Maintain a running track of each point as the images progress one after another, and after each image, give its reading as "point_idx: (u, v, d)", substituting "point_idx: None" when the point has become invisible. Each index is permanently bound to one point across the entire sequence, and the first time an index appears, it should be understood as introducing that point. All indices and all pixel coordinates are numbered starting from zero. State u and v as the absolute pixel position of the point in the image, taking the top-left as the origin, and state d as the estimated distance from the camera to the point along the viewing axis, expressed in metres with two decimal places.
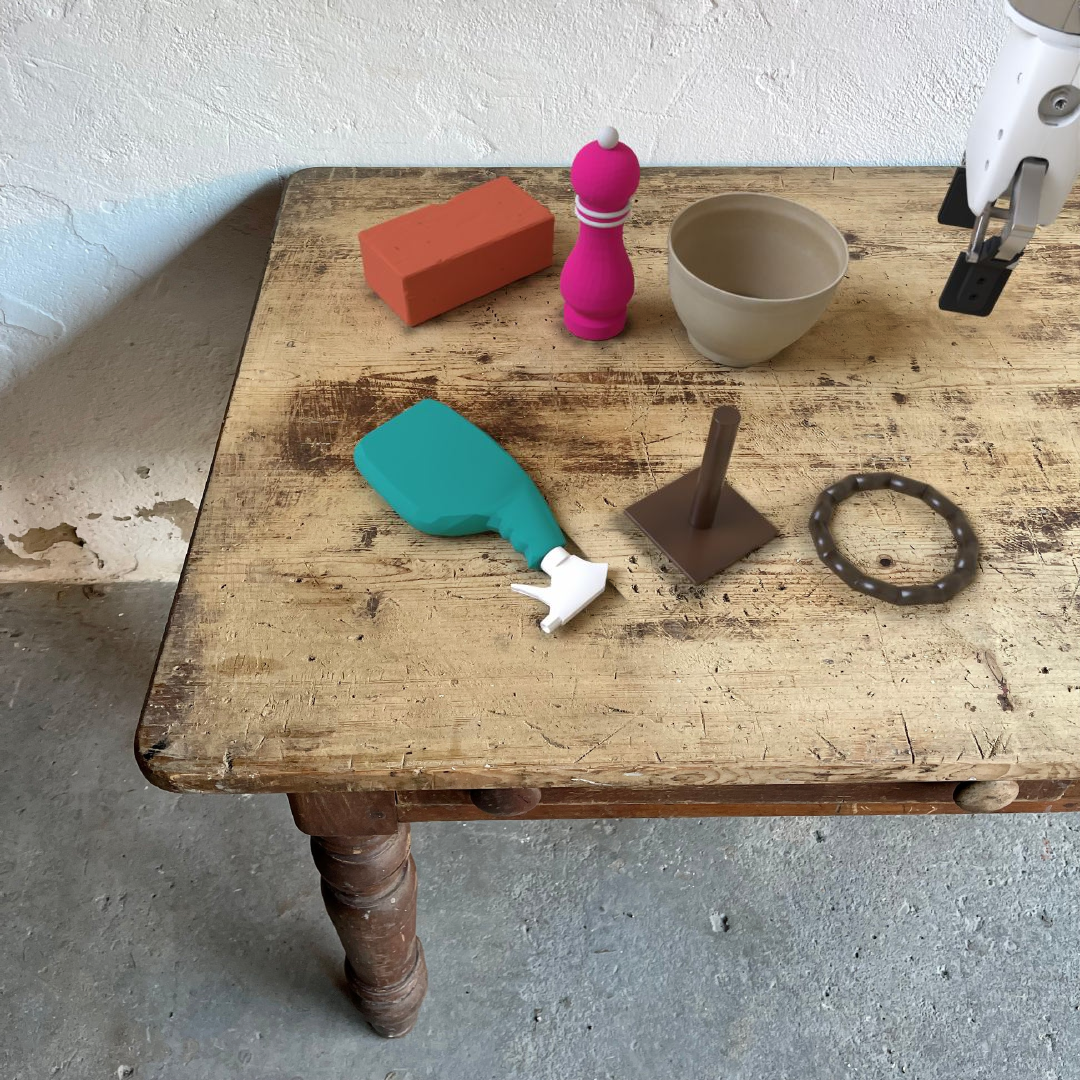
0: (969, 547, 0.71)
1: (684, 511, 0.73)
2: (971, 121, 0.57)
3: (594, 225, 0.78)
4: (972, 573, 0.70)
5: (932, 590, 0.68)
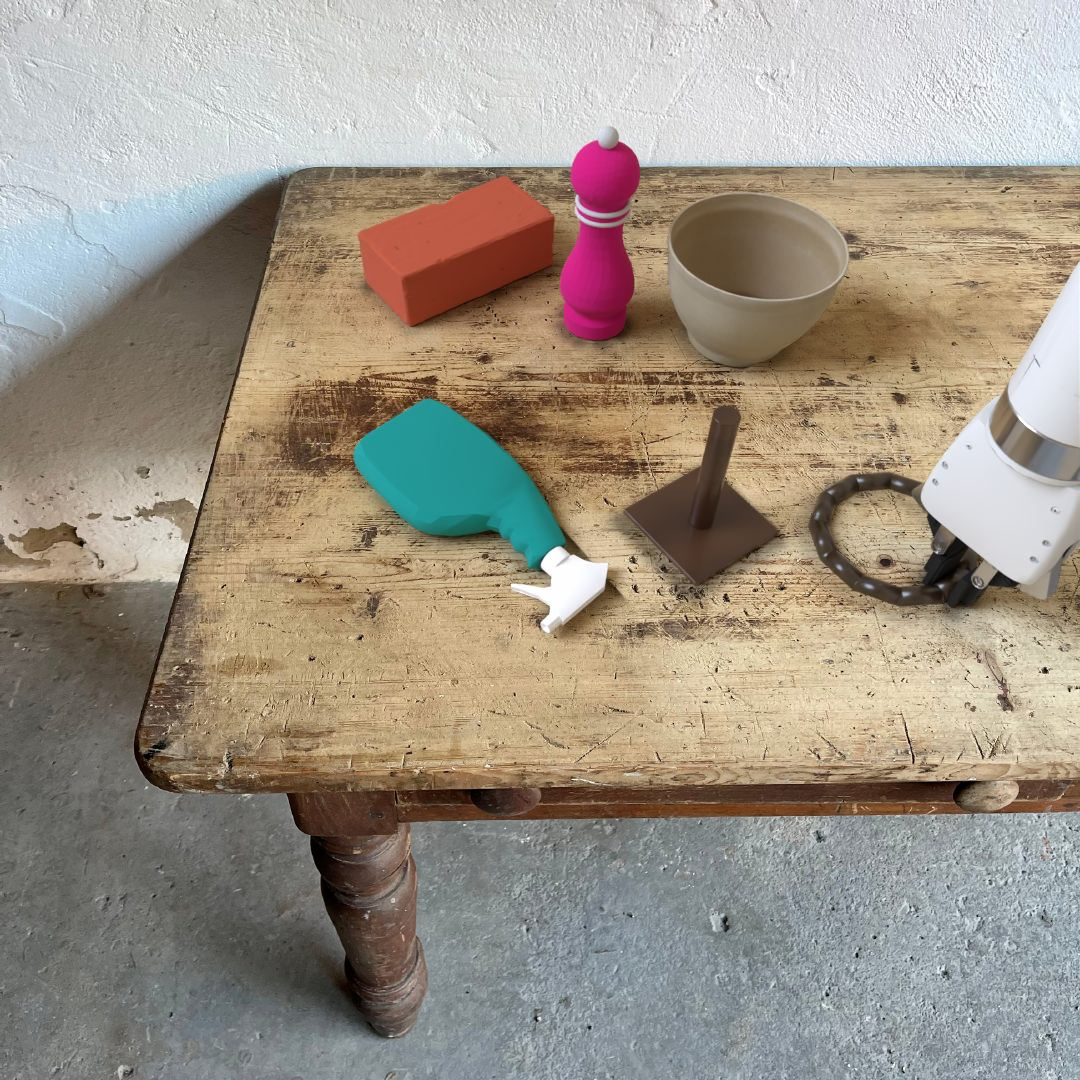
0: (969, 547, 0.71)
1: (684, 511, 0.73)
2: (923, 495, 0.65)
3: (594, 225, 0.78)
4: None
5: (932, 590, 0.68)
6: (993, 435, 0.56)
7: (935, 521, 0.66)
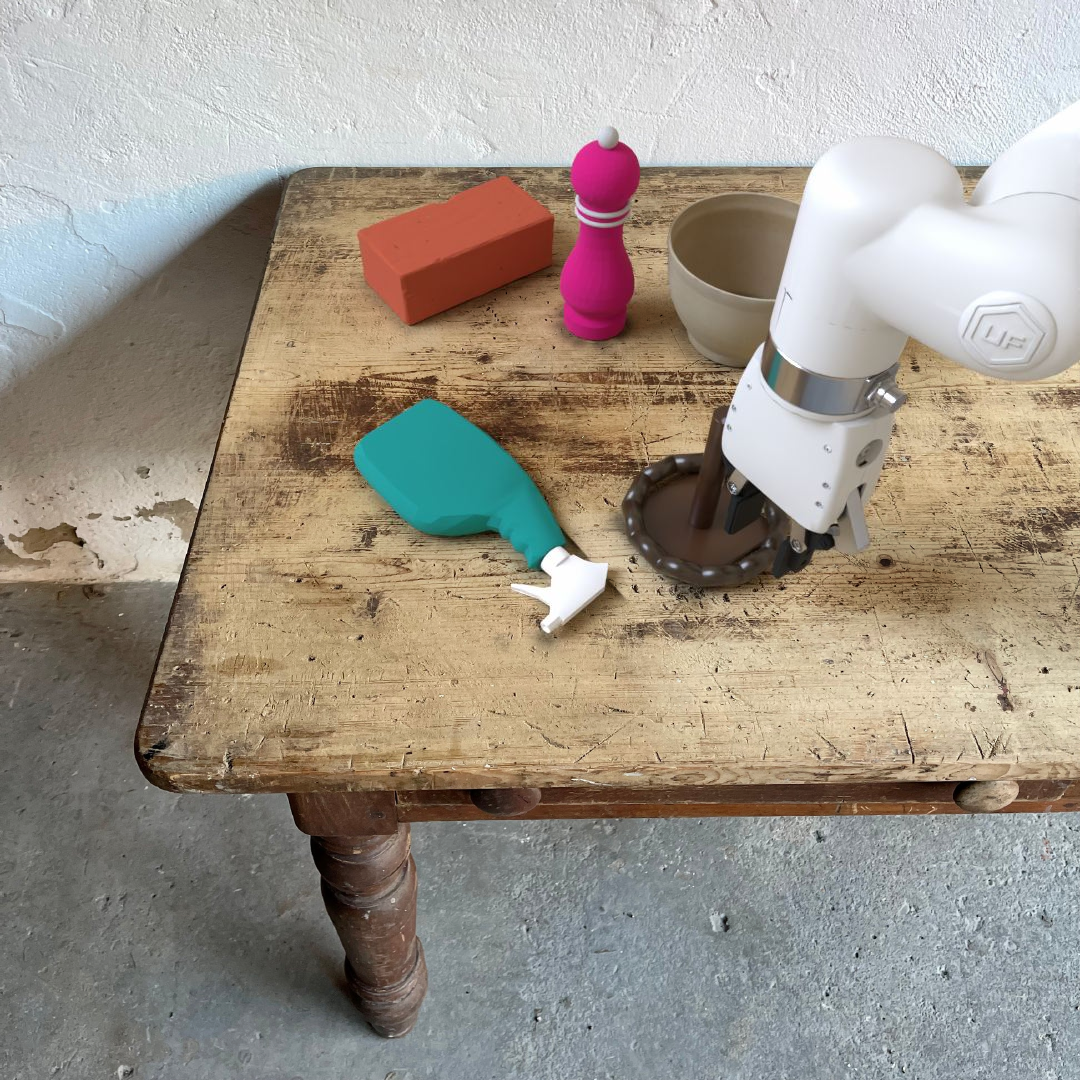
0: (778, 526, 0.70)
1: (684, 511, 0.73)
2: (722, 443, 0.62)
3: (594, 225, 0.78)
4: (777, 552, 0.69)
5: (733, 569, 0.68)
6: (761, 370, 0.53)
7: (728, 459, 0.64)
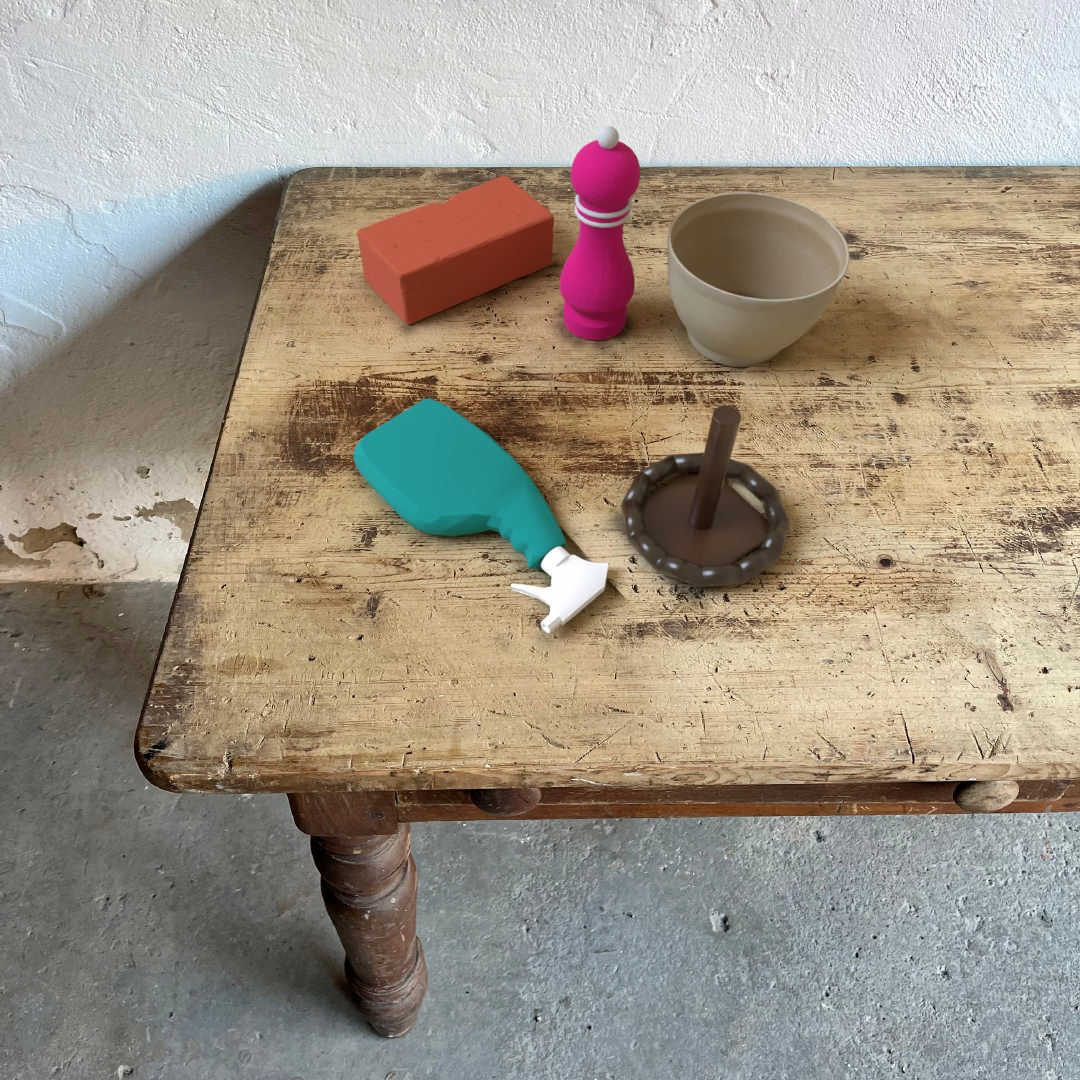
0: (778, 526, 0.70)
1: (684, 511, 0.73)
2: None
3: (594, 225, 0.78)
4: (777, 552, 0.69)
5: (733, 569, 0.68)
6: None
7: None
